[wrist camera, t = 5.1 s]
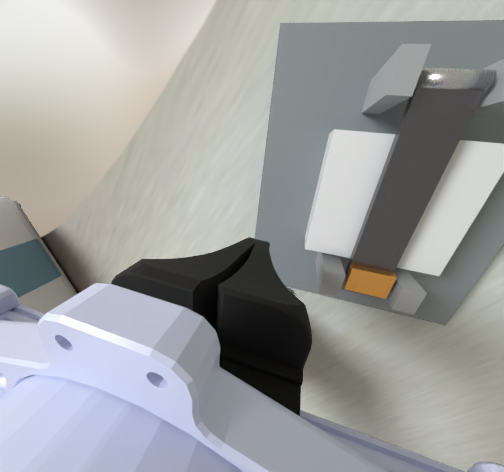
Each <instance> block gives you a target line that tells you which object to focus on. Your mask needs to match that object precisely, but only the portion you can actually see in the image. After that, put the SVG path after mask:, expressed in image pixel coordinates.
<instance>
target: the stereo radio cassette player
mask: <svg viewBox="0 0 504 472" xmlns="http://www.w3.org/2000/svg"><path fill="white" fill-rule="evenodd" d="M0 284H1V285H3V286H6V287H9V288H10V289H12V290H13V291H14V292H15V293H16V295H17V296H18V298H19V301H20V305H22V306H25V307H28V308H30V309H33V310H36V311H38V312H41V313H44V314H46V313H47V312H49V311H51V310H52V309H54V308H55V307H57V306H59V305H60V304H62V303H64V302H65V301H67V300H69V299H70V298H72V297H73V296H75V295H77V292H76V291H75V289H74V288H73V286H72V285H71V283H70V282H69V280H68V279H67V277H66V276H65V274H64V273H63V271H62V270H61V268H60V266H59V265H58V263H57V262H56V260H55V259H54V257H53V256H52V254H51V253H50V251H49V250H48V248H47V247H46V245H45V244H44V242H43V241H42V239H41V238H40V236H39V234H38V233H37V231H36V230H35V228H34V227H33V226H32V224H31V222H30V221H29V219H28V218H27V216H26V215H25V213H24V212H23V210H22V209H21V205H20V204H18V203H17V202H16V201H12V200H11V199H10V198H8V197H4V196H0Z"/></svg>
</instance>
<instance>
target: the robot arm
mask: <svg viewBox="0 0 504 472" xmlns="http://www.w3.org/2000/svg"><path fill="white" fill-rule="evenodd" d="M269 248H270V243H269V242H267V241H262V240H258V239H254V238H247V239H244V240H242V241H240V242H238V243H236V244H234V245H231V246H229V247H226V248H224V249H221V250H218V251H215V252H212V253H208V254H204V255H199V256H193V257H187V258H177V259H141V260H140V261H138V262H137V263H135V264H134V265H132V266H131V267H129V268H127V269H126V270H124V271H123V272H121V273H120V274H118V275H116V276H115V278H114V279H113V280H112V283H111V284H102V283H95V284H93V285H91V286H90V287H88V288H87V289H85V290H83V291H82V292H80V293H78V294H77V295H75V296H73V297H72V298H70V299H69V300H67V301H65V302H64V303H62V304H60V305H59V306H57V307H55V308H54V309H52V310H51V311H49V312H47V313H46V314H44V313H41V312H38V311H36V310H33V309H30V308H28V307H25V306H22V305H20V301H19V298H18V296H17V295H16V293H15V292H14V291H13V290H12V289H10V288H9V287H6V286H3V285H1V284H0V472H464V471H461V470H458V469H456V468H453V467H450V466H448V465H445V464H442V463H440V462H437V461H434V460H432V459H429V458H426V457H424V456H421V455H418V454H416V453H413V452H410V451H408V450H405V449H402V448H400V447H397V446H394V445H392V444H389V443H386V442H384V441H381V440H379V439H376V438H373V437H371V436H368V435H365V434H363V433H360V432H357V431H355V430H352V429H349V428H347V427H344V426H341V425H339V424H336V423H333V422H331V421H328V420H325V419H323V418H320V417H317V416H315V415H312V414H309V413H307V412H304V411H301V410H300V393H301V385H302V381H303V368H304V365H305V362H306V360H307V357H308V355H309V352H310V350H311V344H312V334H311V327H310V322H309V318H308V314H307V310H306V307H305V305H304V304H303V303H302V302H301V301H300V300H299V299H298V298H297V297H295V296H294V295H293V294H292V293H291V291H290V290H289V289H288V288H286V286H285V285H284V284H283V282H282V281H281V280H280V278H279V276H278V275H277V273H276V271H275V268H274V266H273V263H272V260H271V256H270V251H269ZM467 472H504V466H503V465H500V464H497V463H493V462H479V463H476V464H474V465H473V466H471V467H470V469H469V470H468V471H467Z"/></svg>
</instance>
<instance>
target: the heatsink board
mask: <svg viewBox="0 0 504 472" xmlns="http://www.w3.org/2000/svg"><path fill="white" fill-rule="evenodd" d="M422 68H454V69H492V70H496V71H497V74H496V77H495V79H494V81H493V83H492V84H491V86H490V87H489V88H488V89H487V90H486V91H485V92H484V93H483V95H482V97H481V99H480V101H479V103H478V105H477V107H476V109H475V111H474V113H473V115H472V117H471V119H470V121H469V123H468V125H467V127H466V129H465V131H464V133H463V135H462V137H461V139H460V141H459V143H458V145H457V147H456V149H455V151H454V153H453V155H452V157H451V159H450V161H449V163H448V165H447V167H446V169H445V171H444V173H443V175H442V177H441V179H440V181H439V183H438V185H437V187H436V189H435V191H434V193H433V195H432V197H431V199H430V201H429V203H428V205H427V207H426V209H425V211H424V213H423V215H422V217H421V219H420V221H419V223H418V225H417V227H416V229H415V231H414V233H413V235H412V237H411V239H410V241H409V243H408V245H407V247H406V249H405V251H404V253H403V255H402V257H401V259H400V261H399V263H398V265H397V267H396V269H395V271H394V274H395V276H396V277H397V278H396V280H395V282H394V284H393V286H392V288H391V290H390V292H389V294H388V296H387V298H386V299H384V298H381V299H380V298H376V297H372V296H367V295H363V294H359V293H355V292H350V291H346V290H342V289H341V287H342V284H343V282H344V279H345V276H346V275H345V270H346V268H347V265H348V262H349V259H350V257H351V254H352V251H353V249H354V246H355V243H356V241H357V238H358V235H359V232H360V230H361V227H362V224H363V222H364V219H365V216H366V213H367V211H368V208H369V205H370V203H371V200H372V197H373V194H374V192H375V189H376V186H377V184H378V181H379V178H380V175H381V173H382V170H383V167H384V165H385V162H386V159H387V156H388V154H389V151H390V148H391V146H392V143H393V140H394V137H395V135H396V132H397V129H398V127H399V124H400V121H401V118H402V116H403V113H404V110H405V108H406V105H407V102H408V99H409V98H410V97H412V95H413V92H414V90H415V87H416V84H417V82H418V79H419V76H420V74H421V71H422ZM255 239H258V240H262V241H267V242H269V243H270V248H269V251H270V256H271V260H272V263H273V266H274V268H275V271H276V273H277V275H278V276H279V278H280V280H281V281H282V282H283V284H284V285H285V286H288V287H292V288H296V289H300V290H304V291H308V292H312V293H316V294H320V295H325V296H329V297H333V298H337V299H341V300H345V301H349V302H353V303H357V304H362V305H366V306H370V307H374V308H378V309H382V310H386V311H390V312H394V313H399V314H403V315H407V316H411V317H415V318H419V319H423V320H427V321H431V322H436V323H440V324H444V325H446V323H447V322H448V321H449V319H450V318H451V316H452V315H453V314H454V312H455V311H456V310H457V308H458V307H459V305H460V304H461V303H462V301H463V300H464V299H465V297H466V296H467V294H468V293H469V292H470V290H471V289H472V287H473V286H474V285H475V283H476V282H477V281H478V279H479V278H480V276H481V275H482V274H483V272H484V271H485V270H486V268H487V267H488V265H489V264H490V263H491V261H492V260H493V259H494V257H495V256H496V254H497V253H498V252H499V250H500V249H501V248H502V246H503V245H504V20H483V21H412V22H342V23H280V31H279V40H278V48H277V56H276V65H275V73H274V82H273V90H272V98H271V107H270V115H269V124H268V132H267V140H266V149H265V157H264V166H263V174H262V182H261V191H260V199H259V207H258V216H257V224H256V233H255Z"/></svg>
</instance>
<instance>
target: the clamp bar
mask: <svg viewBox="0 0 504 472" xmlns="http://www.w3.org/2000/svg"><path fill="white" fill-rule="evenodd" d="M496 74H497V71H496V70H492V69H454V68H422V71H421V74H420V76H419V79H418V82H417V84H416V87H415V90H414V92H413V95H412V97H410V98H409V99H408V102H407V105H406V108H405V110H404V113H403V116H402V118H401V121H400V124H399V127H398V129H397V132H396V135H395V137H394V140H393V143H392V146H391V148H390V151H389V154H388V156H387V159H386V162H385V165H384V167H383V170H382V173H381V175H380V178H379V181H378V184H377V186H376V189H375V192H374V194H373V197H372V200H371V203H370V205H369V208H368V211H367V213H366V216H365V219H364V222H363V224H362V227H361V230H360V232H359V235H358V238H357V241H356V243H355V246H354V249H353V251H352V254H351V257H350V259H349V262H348V265H347V268H346V270H345V275H346V276H345V279H344V282H343V284H342V287H341V289H342V290H346V291H350V292H355V293H359V294H363V295H367V296H372V297H376V298H380V299H381V298H384V299H386V298H387V296H388V294H389V292H390V290H391V288H392V286H393V284H394V282H395V280H396V278H397V277H396V276H395V274H394V271H395V269H396V267H397V265H398V263H399V261H400V259H401V257H402V255H403V253H404V251H405V249H406V247H407V245H408V243H409V241H410V239H411V237H412V235H413V233H414V231H415V229H416V227H417V225H418V223H419V221H420V219H421V217H422V215H423V213H424V211H425V209H426V207H427V205H428V203H429V201H430V199H431V197H432V195H433V193H434V191H435V189H436V187H437V185H438V183H439V181H440V179H441V177H442V175H443V173H444V171H445V169H446V167H447V165H448V163H449V161H450V159H451V157H452V155H453V153H454V151H455V149H456V147H457V145H458V143H459V141H460V139H461V137H462V135H463V133H464V131H465V129H466V127H467V125H468V123H469V121H470V119H471V117H472V115H473V113H474V111H475V109H476V107H477V105H478V103H479V101H480V99H481V97H482V95H483V93H484V92H485V91H486V90H487V89H488V88H489V87H490V86H491V84H492V83H493V81H494V79H495V77H496Z"/></svg>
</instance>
